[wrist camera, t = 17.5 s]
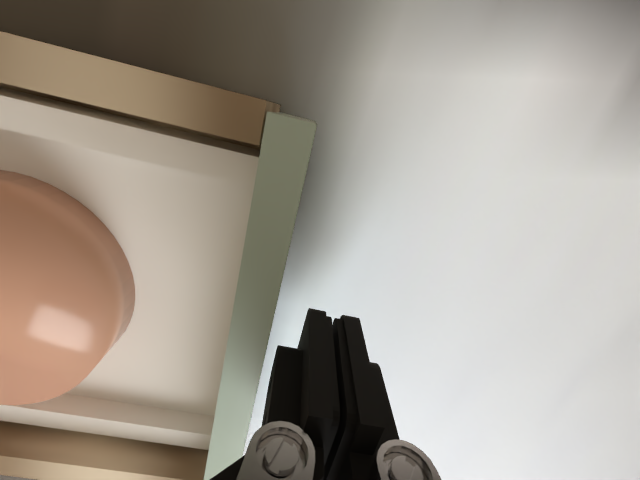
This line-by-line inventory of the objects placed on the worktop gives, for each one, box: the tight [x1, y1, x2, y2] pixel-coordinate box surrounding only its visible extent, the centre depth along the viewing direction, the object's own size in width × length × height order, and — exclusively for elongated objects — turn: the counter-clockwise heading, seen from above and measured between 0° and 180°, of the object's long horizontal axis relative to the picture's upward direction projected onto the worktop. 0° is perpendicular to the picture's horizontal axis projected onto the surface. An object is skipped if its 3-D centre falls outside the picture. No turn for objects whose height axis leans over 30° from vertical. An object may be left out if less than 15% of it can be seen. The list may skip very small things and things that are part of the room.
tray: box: [0, 87, 317, 480], centre depth 10 cm, size 14×14×4 cm
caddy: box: [0, 31, 281, 480], centre depth 11 cm, size 14×14×4 cm
